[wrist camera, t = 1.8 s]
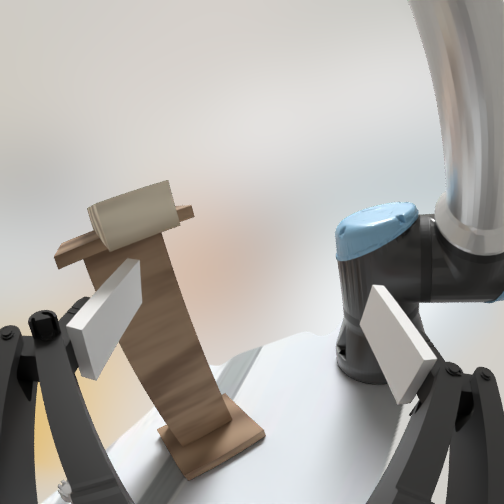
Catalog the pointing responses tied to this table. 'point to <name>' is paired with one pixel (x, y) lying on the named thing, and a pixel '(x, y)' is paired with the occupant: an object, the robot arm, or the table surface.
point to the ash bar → (134, 215)
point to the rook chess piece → (65, 491)
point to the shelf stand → (169, 355)
